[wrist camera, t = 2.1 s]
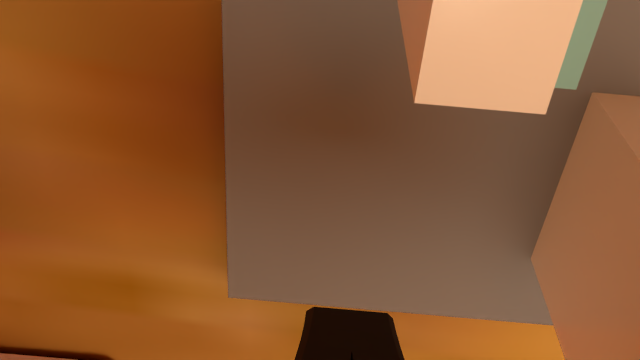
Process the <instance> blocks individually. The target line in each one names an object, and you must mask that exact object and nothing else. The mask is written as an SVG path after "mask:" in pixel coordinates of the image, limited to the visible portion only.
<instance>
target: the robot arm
mask: <svg viewBox="0 0 640 360" xmlns="http://www.w3.org/2000/svg"><path fill="white" fill-rule="evenodd" d="M0 360H76V359H64V358H52V357H41V356H29V355H17V354H6V353H0ZM295 360H404V357H403V354H402V351H401V348H400V344H399V341H398V337H397V334H396V330H395V326H394V322H393V318H392V317H391V316H390V315H389V314H388V313H379V312H367V311H355V310H344V309H332V308H320V307H313V308H311V309H309V310H307V311H306V317H305V324H304V328H303V332H302V336H301V340H300V344H299V347H298V351H297V354H296V357H295Z"/></svg>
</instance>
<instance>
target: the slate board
mask: <svg viewBox="0 0 640 360" xmlns="http://www.w3.org/2000/svg"><path fill="white" fill-rule="evenodd" d="M222 40H223V85H224V130H225V174H226V219H227V264H228V298H240V299H252V300H263V301H275V302H287V303H298V304H310V305H321V306H333V307H345V308H356V309H368V310H380V311H391V312H403V313H415V314H426V315H438V316H449V317H461V318H473V319H484V320H496V321H508V322H519V323H531V324H543V325H553V322H552V319H551V317H550V314H549V311H548V308H547V305H546V302H545V299H544V296H543V293H542V290H541V287H540V284H539V282H538V279H537V276H536V273H535V270H534V267H533V264H532V261H531V256H532V254H533V251H534V248H535V245H536V243H537V240H538V237H539V235H540V232H541V229H542V227H543V224H544V221H545V219H546V216H547V213H548V210H549V208H550V205H551V202H552V200H553V197H554V194H555V192H556V189H557V186H558V184H559V181H560V178H561V175H562V173H563V170H564V167H565V165H566V162H567V159H568V157H569V154H570V151H571V148H572V146H573V143H574V140H575V138H576V135H577V132H578V130H579V127H580V124H581V122H582V119H583V116H584V113H585V111H586V108H587V105H588V103H589V100H590V97H591V95H592V92H595V93H606V94H618V95H629V96H640V0H608V1H607V4H606V7H605V10H604V12H603V15H602V18H601V21H600V24H599V27H598V29H597V32H596V35H595V38H594V41H593V44H592V46H591V49H590V52H589V55H588V58H587V61H586V63H585V66H584V69H583V72H582V75H581V78H580V80H579V83H578V86H577V89H576V90H574V89H563V88H554V90H553V93H552V96H551V99H550V102H549V106H548V109H547V112H546V115H545V114H534V113H522V112H511V111H499V110H488V109H476V108H465V107H453V106H442V105H430V104H419V103H414V99H413V93H412V87H411V81H410V75H409V69H408V63H407V57H406V50H405V44H404V38H403V32H402V26H401V20H400V14H399V8H398V2H397V0H222Z"/></svg>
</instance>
